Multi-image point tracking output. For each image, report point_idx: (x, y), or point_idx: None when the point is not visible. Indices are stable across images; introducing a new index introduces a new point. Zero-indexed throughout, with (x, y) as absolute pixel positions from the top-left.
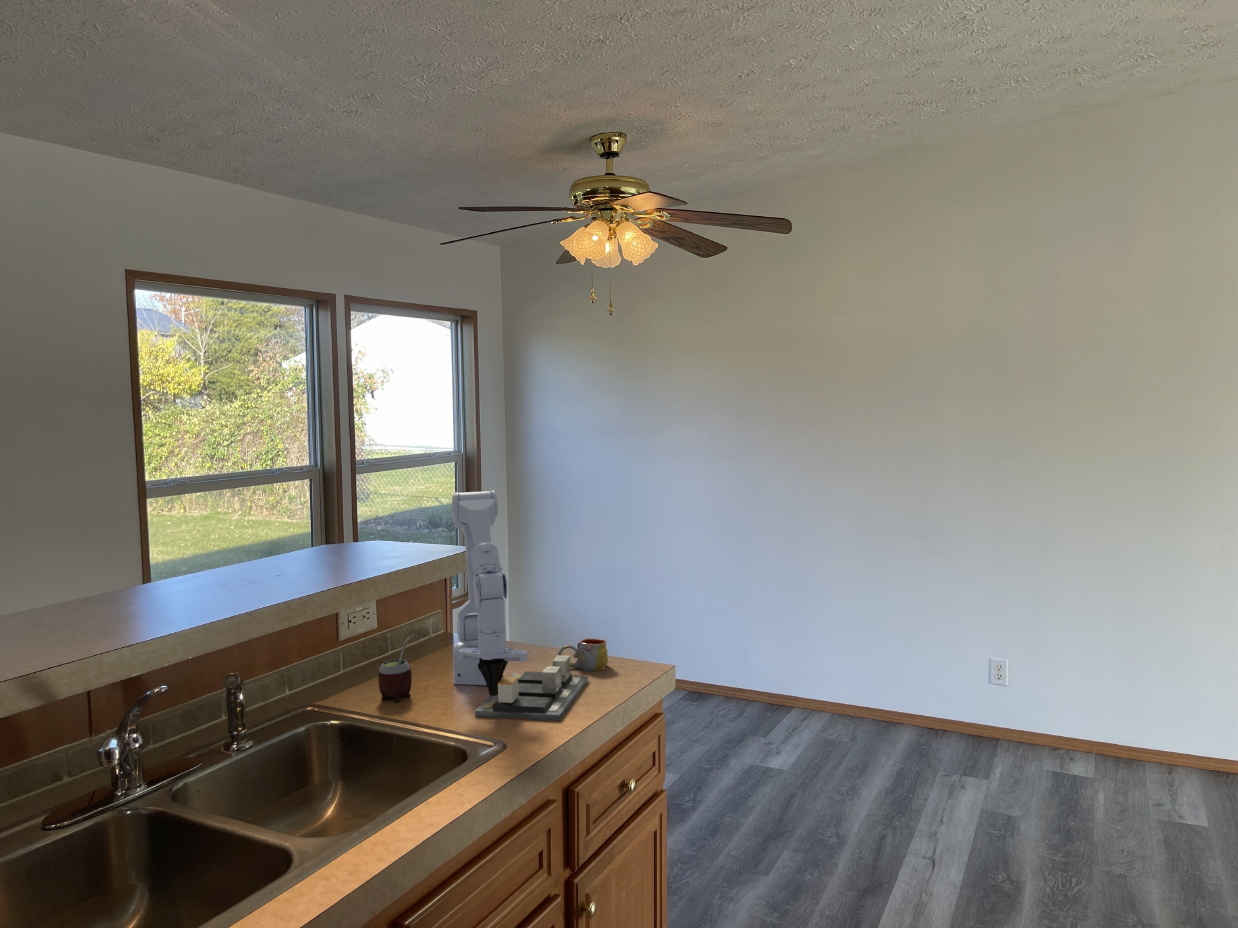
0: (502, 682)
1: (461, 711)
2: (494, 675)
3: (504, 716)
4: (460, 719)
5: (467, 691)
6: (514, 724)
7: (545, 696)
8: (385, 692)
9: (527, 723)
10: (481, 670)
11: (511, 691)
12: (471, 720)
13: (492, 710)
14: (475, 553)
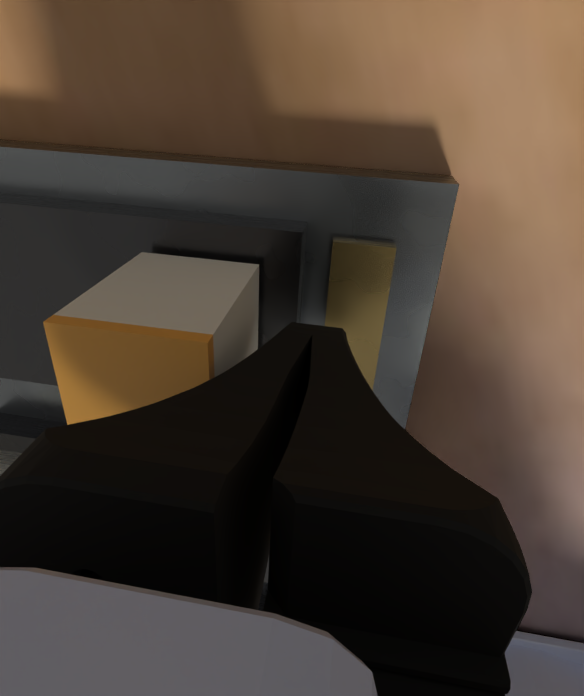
0: (163, 361)
1: (578, 278)
2: (218, 402)
3: (207, 156)
4: (574, 97)
5: (563, 572)
6: (85, 17)
7: (45, 424)
8: None
9: (4, 53)
10: (423, 464)
11: (97, 288)
12: (467, 80)
13: (305, 200)
14: None
